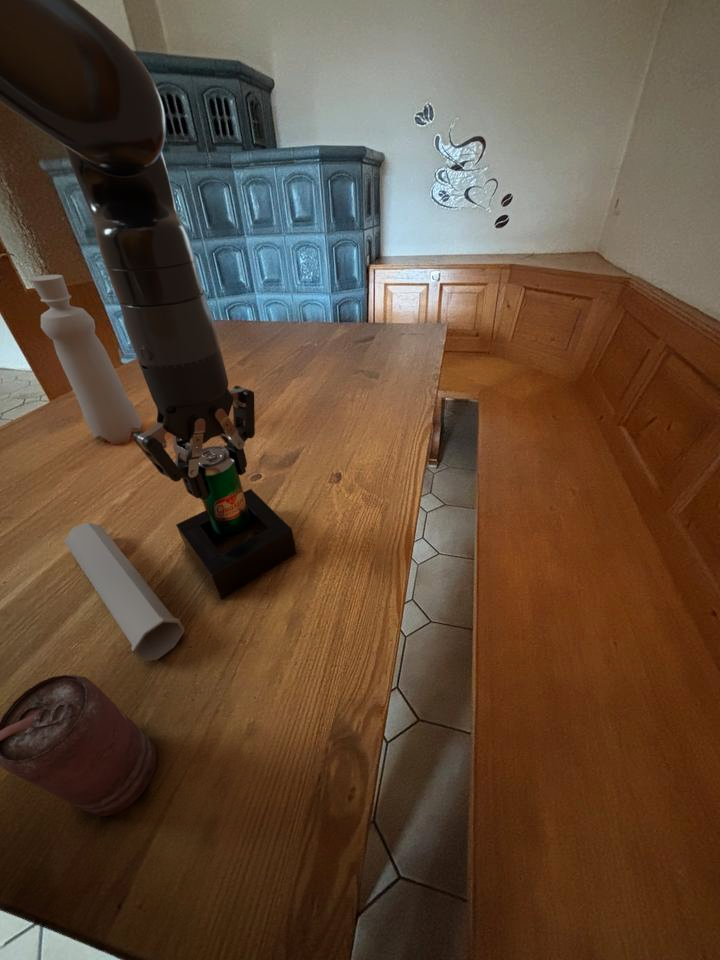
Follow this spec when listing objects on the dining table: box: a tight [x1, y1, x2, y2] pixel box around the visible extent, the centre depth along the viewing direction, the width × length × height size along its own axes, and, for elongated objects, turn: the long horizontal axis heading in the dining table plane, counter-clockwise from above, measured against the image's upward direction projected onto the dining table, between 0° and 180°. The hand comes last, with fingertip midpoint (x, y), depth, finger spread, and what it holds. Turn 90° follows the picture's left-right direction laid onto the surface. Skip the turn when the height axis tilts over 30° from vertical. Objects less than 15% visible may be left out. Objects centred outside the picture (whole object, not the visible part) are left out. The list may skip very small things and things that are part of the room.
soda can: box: [198, 445, 251, 539], centre depth 49 cm, size 5×5×12 cm
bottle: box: [29, 274, 142, 445], centre depth 71 cm, size 9×9×30 cm
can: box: [0, 674, 157, 817], centre depth 31 cm, size 6×6×14 cm
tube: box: [64, 522, 186, 662], centre depth 49 cm, size 5×5×25 cm
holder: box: [176, 488, 297, 600], centre depth 54 cm, size 12×12×5 cm
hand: (220, 483), depth 47 cm, fingers closed on soda can, 5 cm apart
